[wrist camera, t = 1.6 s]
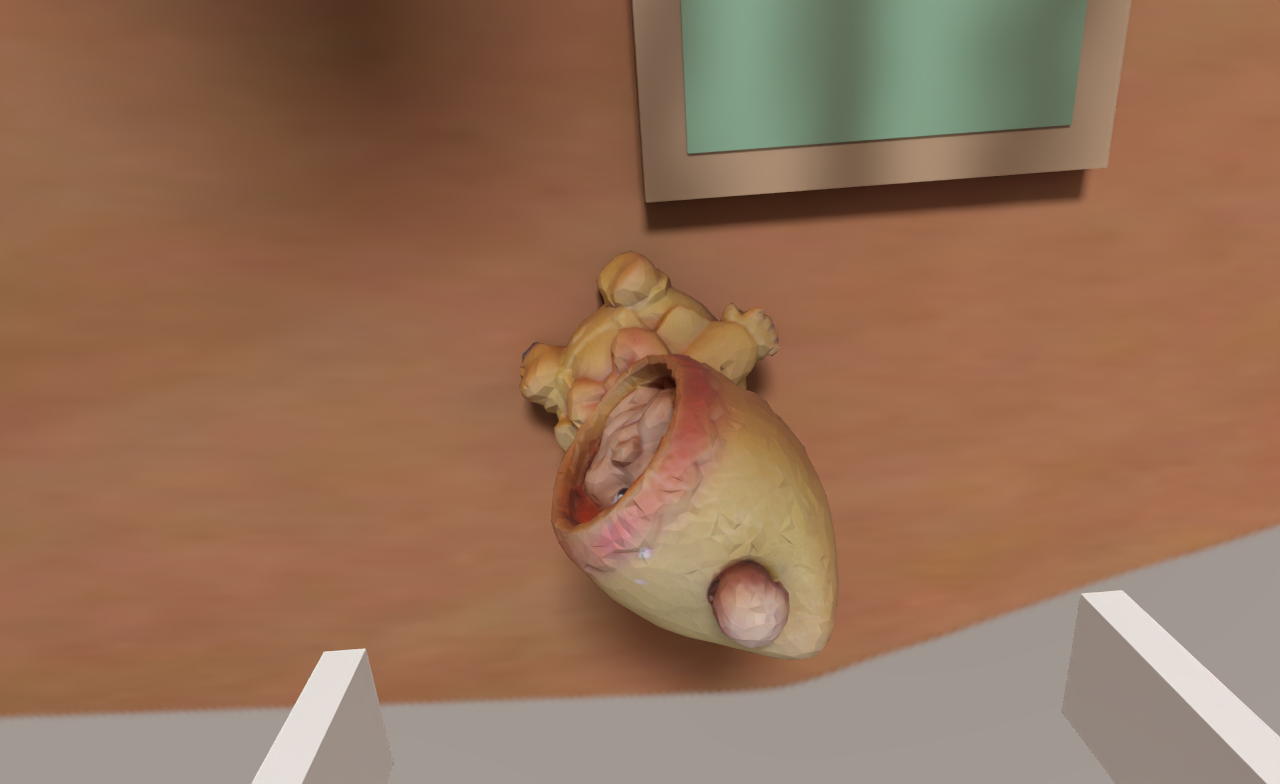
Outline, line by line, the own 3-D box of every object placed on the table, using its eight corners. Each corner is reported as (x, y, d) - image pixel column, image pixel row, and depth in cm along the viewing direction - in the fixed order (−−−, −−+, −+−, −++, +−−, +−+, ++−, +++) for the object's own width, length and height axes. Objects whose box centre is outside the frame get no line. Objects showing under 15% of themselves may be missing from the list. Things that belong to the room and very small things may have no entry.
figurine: (638, 196, 26) (813, 401, 14) (774, 310, 30) (1013, 556, 17) (474, 398, 29) (496, 729, 16) (618, 482, 32) (728, 808, 20)
